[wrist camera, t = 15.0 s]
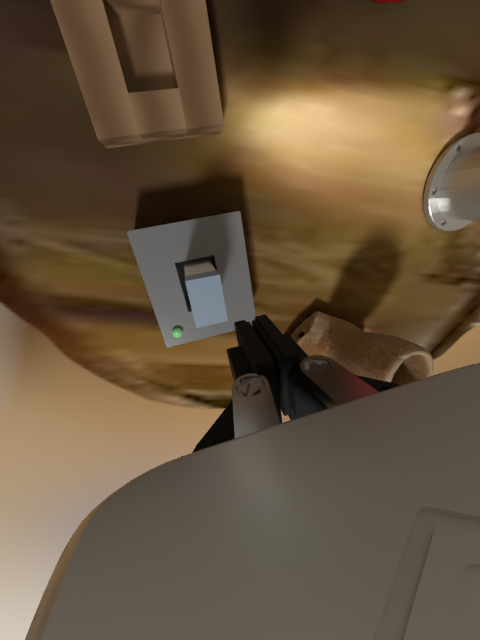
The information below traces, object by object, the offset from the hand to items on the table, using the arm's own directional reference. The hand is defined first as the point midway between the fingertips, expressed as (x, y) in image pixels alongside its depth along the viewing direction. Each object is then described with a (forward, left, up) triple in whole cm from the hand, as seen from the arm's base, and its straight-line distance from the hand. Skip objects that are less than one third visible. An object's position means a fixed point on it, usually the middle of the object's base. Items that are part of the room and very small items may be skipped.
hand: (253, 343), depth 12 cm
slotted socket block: (+2, -20, -21) cm, 29 cm away
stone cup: (-17, +16, -22) cm, 32 cm away
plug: (+2, +1, -21) cm, 21 cm away
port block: (+2, +1, -21) cm, 21 cm away
